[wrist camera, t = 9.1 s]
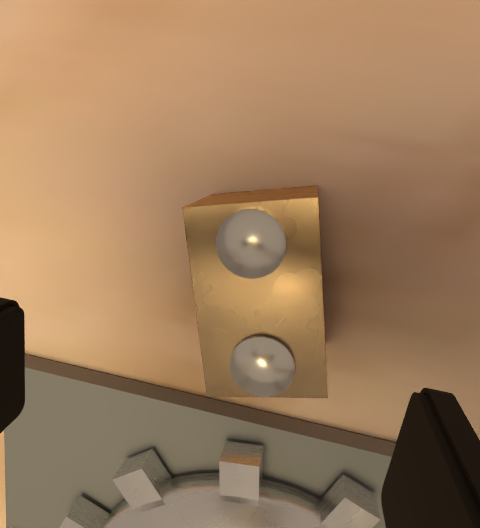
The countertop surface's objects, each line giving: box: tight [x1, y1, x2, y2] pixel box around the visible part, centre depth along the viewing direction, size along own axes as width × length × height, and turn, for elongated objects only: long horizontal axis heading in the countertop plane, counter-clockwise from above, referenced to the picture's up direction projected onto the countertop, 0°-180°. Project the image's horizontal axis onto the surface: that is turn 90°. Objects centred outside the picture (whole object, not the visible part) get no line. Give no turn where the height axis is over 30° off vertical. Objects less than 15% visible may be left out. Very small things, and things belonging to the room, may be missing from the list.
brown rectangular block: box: [183, 186, 328, 398], centre depth 18 cm, size 5×8×5 cm, turn 6°
